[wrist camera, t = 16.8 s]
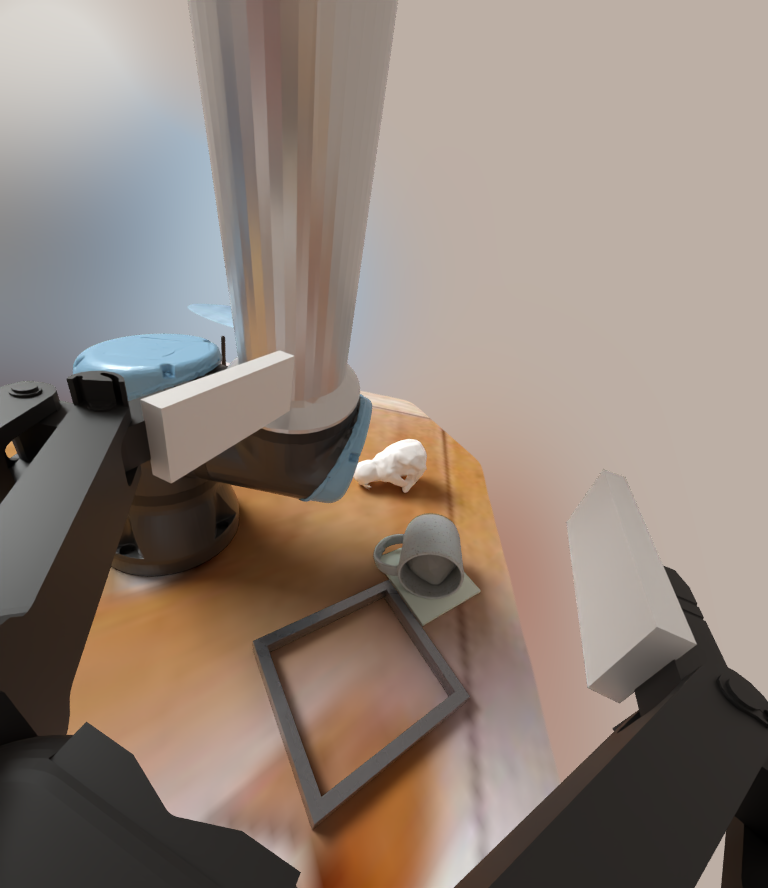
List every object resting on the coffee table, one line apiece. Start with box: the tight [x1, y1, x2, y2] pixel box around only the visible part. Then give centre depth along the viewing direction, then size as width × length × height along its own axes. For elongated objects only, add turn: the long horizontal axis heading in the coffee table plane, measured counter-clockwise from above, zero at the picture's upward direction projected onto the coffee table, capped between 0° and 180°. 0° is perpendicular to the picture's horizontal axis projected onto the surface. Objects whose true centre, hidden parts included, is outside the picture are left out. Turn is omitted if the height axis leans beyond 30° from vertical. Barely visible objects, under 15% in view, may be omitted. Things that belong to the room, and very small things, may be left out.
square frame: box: [253, 580, 470, 829], centre depth 34 cm, size 14×16×2 cm
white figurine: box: [353, 439, 427, 493], centre depth 58 cm, size 6×8×12 cm
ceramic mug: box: [373, 513, 464, 599], centre depth 44 cm, size 11×8×8 cm
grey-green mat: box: [380, 548, 481, 626], centre depth 46 cm, size 10×10×1 cm
